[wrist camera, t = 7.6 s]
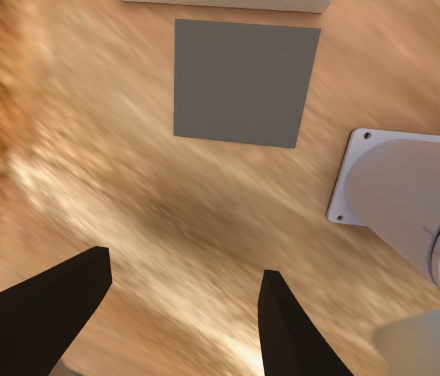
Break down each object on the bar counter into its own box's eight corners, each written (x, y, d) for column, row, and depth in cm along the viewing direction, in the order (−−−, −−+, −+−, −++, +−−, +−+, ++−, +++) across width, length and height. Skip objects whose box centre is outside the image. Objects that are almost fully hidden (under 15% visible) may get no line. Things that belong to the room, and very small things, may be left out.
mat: (318, 31, 14) (320, 28, 14) (293, 147, 17) (295, 148, 16) (176, 21, 15) (175, 18, 14) (175, 134, 17) (173, 135, 17)
